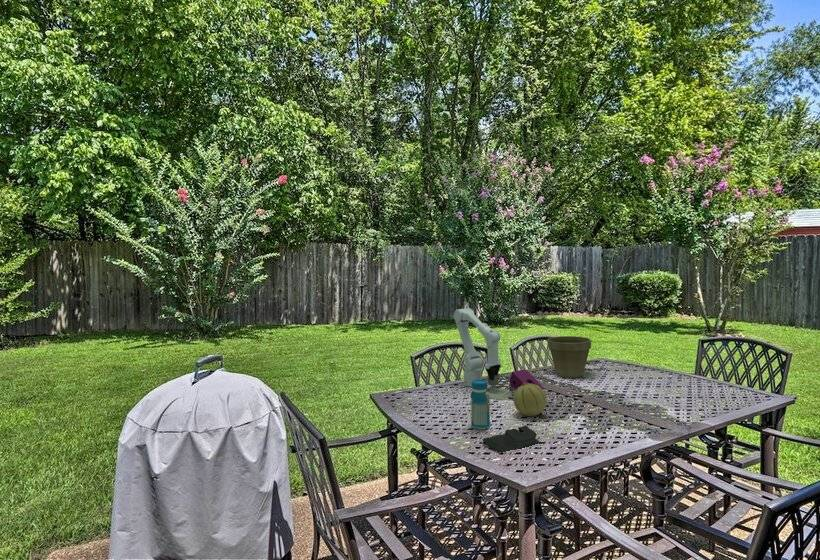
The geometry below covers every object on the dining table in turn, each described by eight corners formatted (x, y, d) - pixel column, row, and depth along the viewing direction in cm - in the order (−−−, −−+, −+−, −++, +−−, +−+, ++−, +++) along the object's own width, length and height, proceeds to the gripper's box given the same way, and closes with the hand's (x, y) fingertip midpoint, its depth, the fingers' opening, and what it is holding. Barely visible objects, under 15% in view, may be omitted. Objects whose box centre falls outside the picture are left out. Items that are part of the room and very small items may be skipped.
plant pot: (545, 370, 307) (544, 335, 306) (586, 369, 304) (586, 335, 302) (551, 380, 282) (550, 343, 281) (596, 380, 279) (595, 342, 278)
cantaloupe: (550, 420, 218) (549, 387, 217) (516, 421, 219) (515, 387, 218) (542, 409, 233) (542, 378, 232) (511, 410, 234) (510, 379, 233)
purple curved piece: (541, 402, 263) (521, 381, 277) (546, 390, 259) (525, 369, 273) (528, 405, 258) (508, 383, 272) (532, 392, 255) (512, 371, 269)
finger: (487, 384, 266) (487, 375, 265) (490, 383, 269) (490, 374, 268) (495, 386, 263) (494, 376, 263) (498, 384, 266) (498, 375, 266)
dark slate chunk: (477, 443, 197) (476, 431, 197) (520, 432, 207) (519, 421, 207) (500, 456, 183) (500, 444, 183) (545, 444, 194) (545, 432, 193)
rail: (471, 395, 260) (471, 383, 259) (479, 391, 267) (478, 379, 267) (503, 400, 249) (502, 388, 249) (510, 395, 257) (509, 383, 256)
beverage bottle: (477, 431, 208) (476, 384, 207) (467, 425, 216) (466, 380, 215) (494, 427, 212) (493, 382, 210) (483, 421, 219) (482, 377, 218)
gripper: (493, 357, 256) (494, 383, 257) (505, 352, 268) (505, 376, 269) (481, 356, 260) (482, 381, 261) (493, 351, 272) (494, 375, 273)
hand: (493, 379), depth 265 cm, fingers closed on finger, 4 cm apart
